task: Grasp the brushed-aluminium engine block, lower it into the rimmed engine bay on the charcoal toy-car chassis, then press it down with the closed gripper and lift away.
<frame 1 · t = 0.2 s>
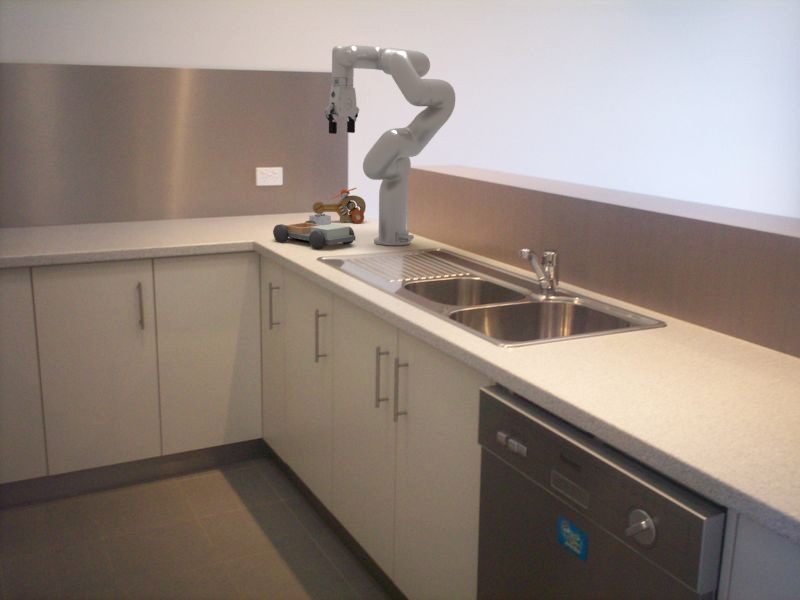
hand: (341, 133, 310), 36 cm above the table, tool pointing down, fingers open, 9 cm apart
engine block: (320, 231, 323), on the table
chassis: (313, 243, 300), on the table
toy helicopter: (341, 222, 346), on the table
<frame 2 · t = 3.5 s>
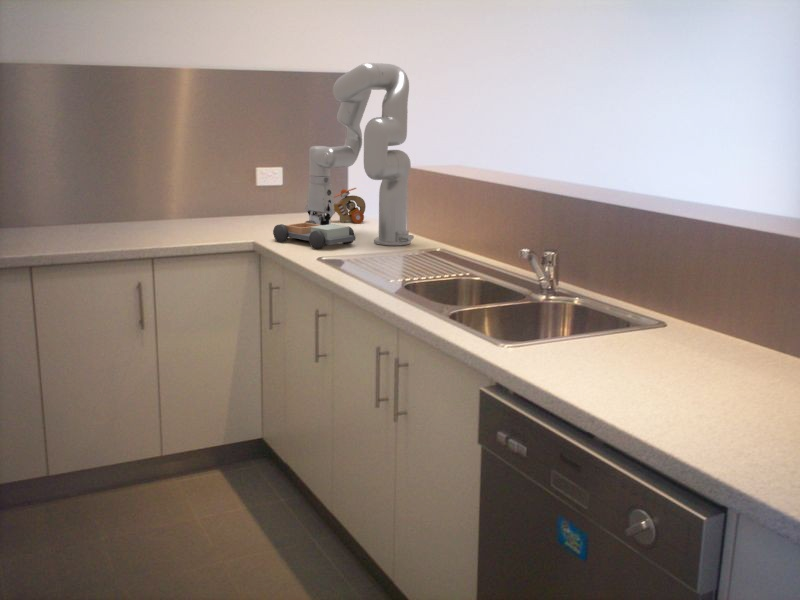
hand: (319, 229, 323), 1 cm above the table, tool pointing down, fingers closed on engine block, 5 cm apart
engine block: (319, 231, 323), on the table, touching gripper
everything else where it was.
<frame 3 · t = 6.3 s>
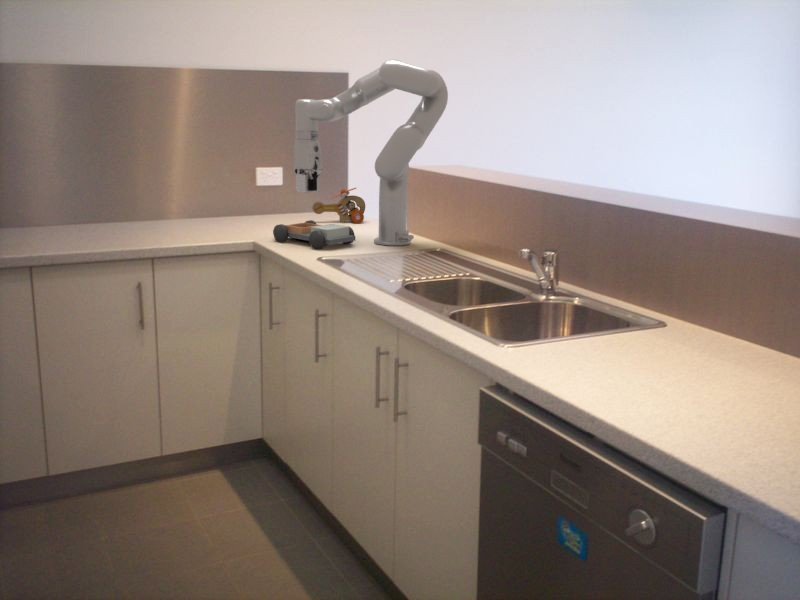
hand: (307, 189, 304), 17 cm above the table, tool pointing down, fingers closed on engine block, 5 cm apart
engine block: (307, 191, 304), point 17 cm above the table, touching gripper
everything else where it was.
when the fingers open (6 cm above the table, at t = 9.3 s): engine block drops 1 cm, resting on chassis.
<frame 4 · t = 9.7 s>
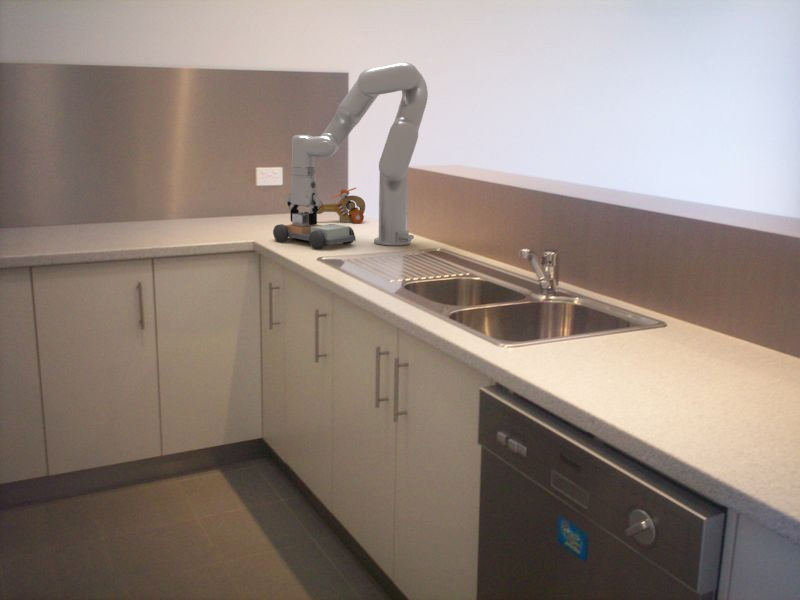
hand: (303, 222, 302), 6 cm above the table, tool pointing down, fingers open, 8 cm apart
engine block: (303, 231, 302), point 3 cm above the table, touching chassis
everything else where it was.
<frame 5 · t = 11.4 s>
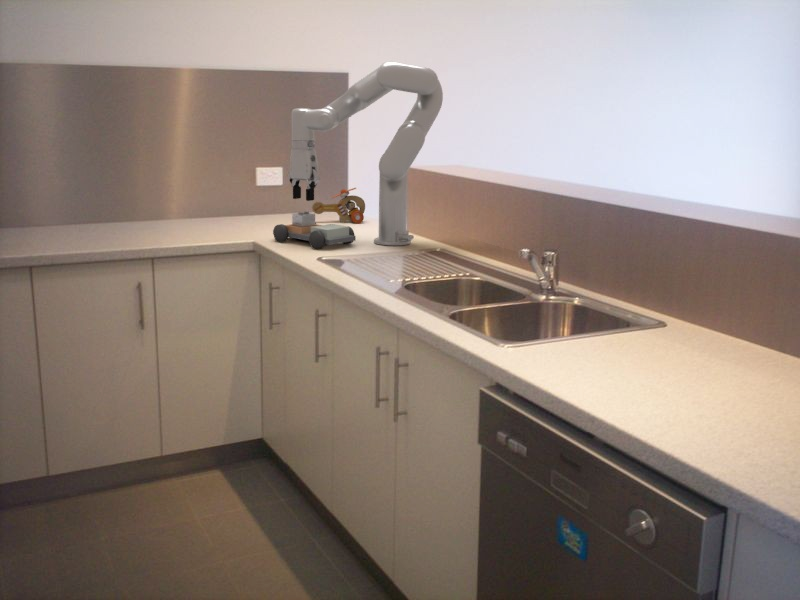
hand: (303, 198, 300), 15 cm above the table, tool pointing down, fingers open, 5 cm apart
nothing on the table moved.
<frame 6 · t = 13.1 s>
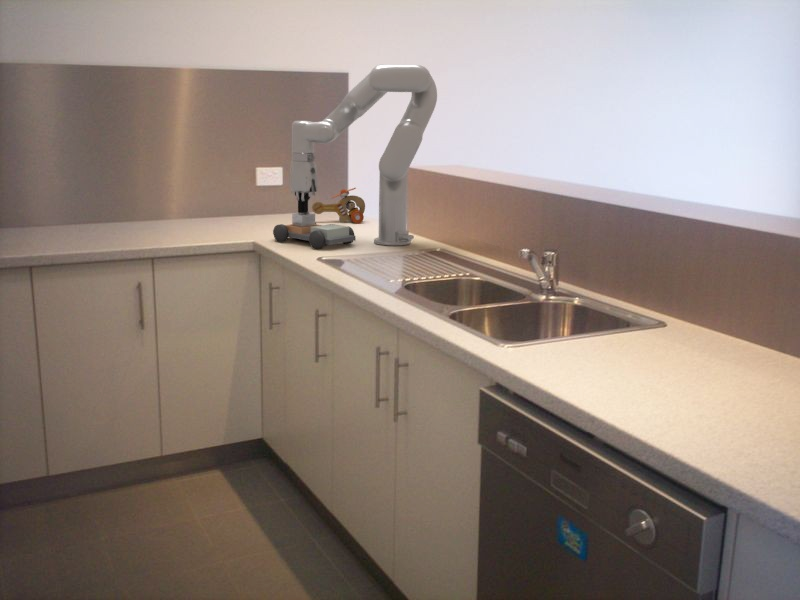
hand: (303, 212, 301), 10 cm above the table, tool pointing down, fingers closed
engine block: (303, 231, 302), point 3 cm above the table, touching chassis, gripper
everything else where it was.
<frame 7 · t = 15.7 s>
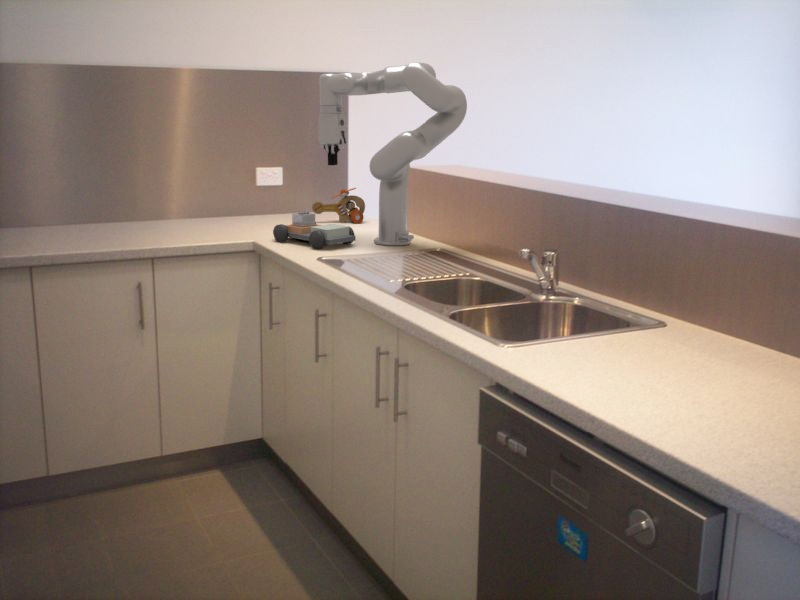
hand: (332, 164, 305), 26 cm above the table, tool pointing down, fingers closed
engine block: (303, 231, 302), point 3 cm above the table, touching chassis
everything else where it was.
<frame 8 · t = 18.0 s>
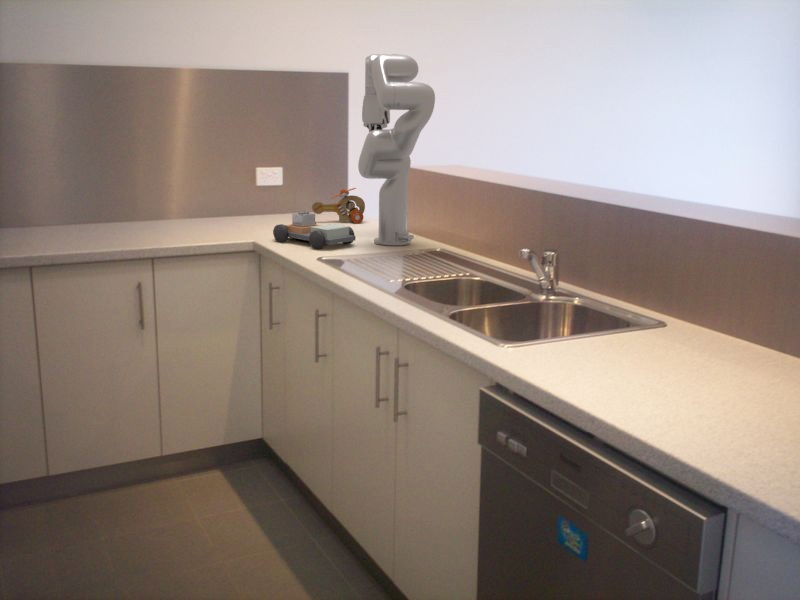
hand: (375, 143, 317), 32 cm above the table, tool pointing down, fingers closed
nothing on the table moved.
at the end: engine block 0.1 cm from the target spot on the chassis, point 3.5 cm above the chassis's base; engine block tilted 0°; the gripper is holding nothing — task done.
